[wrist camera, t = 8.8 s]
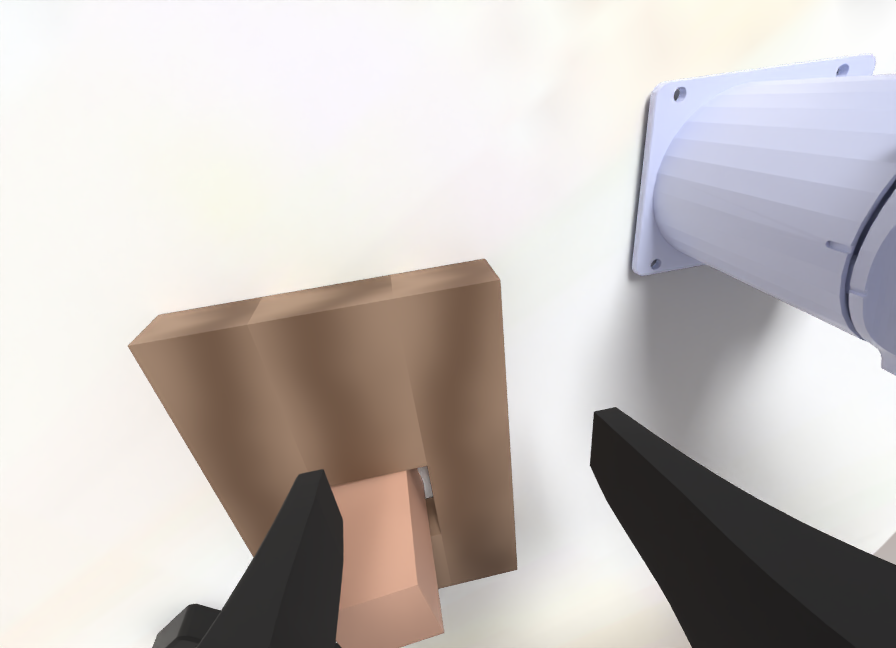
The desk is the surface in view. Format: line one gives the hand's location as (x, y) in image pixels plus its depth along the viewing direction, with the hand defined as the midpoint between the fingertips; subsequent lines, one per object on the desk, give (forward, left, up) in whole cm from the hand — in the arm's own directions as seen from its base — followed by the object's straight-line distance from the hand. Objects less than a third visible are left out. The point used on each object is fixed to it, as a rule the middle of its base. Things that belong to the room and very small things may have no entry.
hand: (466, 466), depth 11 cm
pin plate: (+4, +8, -9) cm, 13 cm away
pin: (+4, +10, -9) cm, 14 cm away
